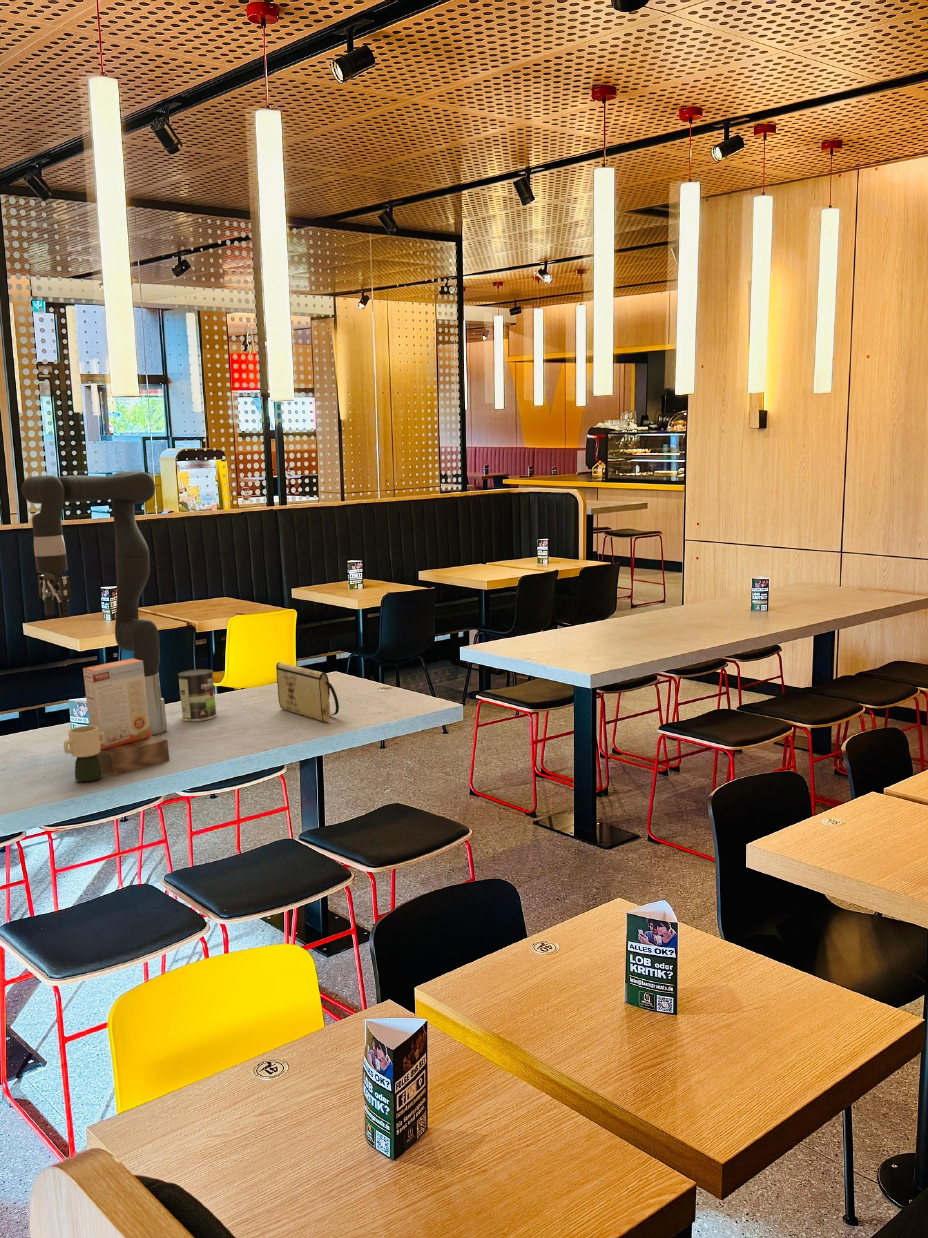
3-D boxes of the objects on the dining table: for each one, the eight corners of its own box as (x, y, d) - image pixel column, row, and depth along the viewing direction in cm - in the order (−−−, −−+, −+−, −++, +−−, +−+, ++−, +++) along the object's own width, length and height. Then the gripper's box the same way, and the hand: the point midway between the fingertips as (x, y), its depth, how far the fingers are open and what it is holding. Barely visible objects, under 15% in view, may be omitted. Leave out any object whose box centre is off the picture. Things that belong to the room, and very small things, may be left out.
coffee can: (223, 713, 319) (219, 669, 317) (204, 722, 309) (200, 676, 307) (194, 712, 322) (190, 668, 320) (175, 721, 313) (170, 675, 311)
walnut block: (136, 752, 281) (134, 731, 280) (169, 761, 270) (167, 739, 269) (81, 767, 269) (79, 745, 268) (113, 777, 258) (111, 754, 257)
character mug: (100, 772, 262) (95, 722, 260) (116, 776, 258) (111, 725, 256) (60, 783, 254) (54, 732, 252) (76, 788, 249) (70, 736, 247)
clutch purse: (346, 720, 303) (342, 669, 301) (325, 724, 299) (321, 674, 296) (295, 705, 326) (291, 658, 324) (275, 709, 322) (271, 662, 319)
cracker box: (140, 734, 275) (133, 657, 272) (151, 738, 271) (144, 660, 267) (90, 746, 266) (81, 666, 262) (100, 750, 261) (92, 670, 258)
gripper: (76, 552, 265) (83, 615, 268) (53, 551, 275) (59, 611, 278) (47, 555, 260) (55, 619, 262) (24, 554, 270) (32, 615, 273)
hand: (57, 615), depth 270 cm, fingers open, 8 cm apart
